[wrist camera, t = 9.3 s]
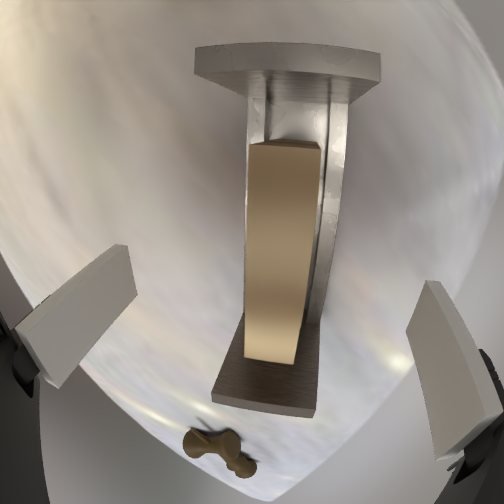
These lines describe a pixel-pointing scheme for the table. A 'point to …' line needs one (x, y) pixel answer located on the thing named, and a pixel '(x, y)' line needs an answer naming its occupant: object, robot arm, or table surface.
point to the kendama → (220, 450)
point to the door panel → (279, 244)
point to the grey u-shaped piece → (331, 177)
